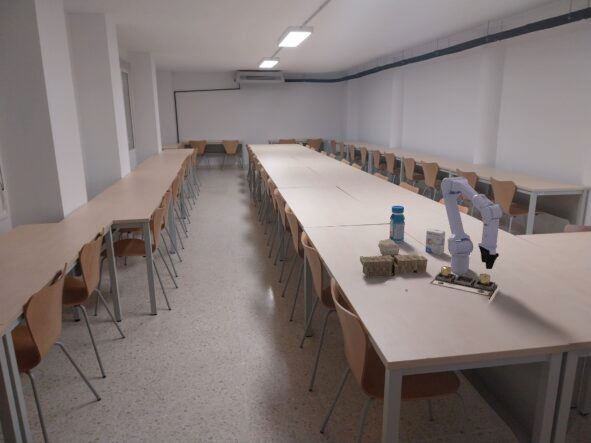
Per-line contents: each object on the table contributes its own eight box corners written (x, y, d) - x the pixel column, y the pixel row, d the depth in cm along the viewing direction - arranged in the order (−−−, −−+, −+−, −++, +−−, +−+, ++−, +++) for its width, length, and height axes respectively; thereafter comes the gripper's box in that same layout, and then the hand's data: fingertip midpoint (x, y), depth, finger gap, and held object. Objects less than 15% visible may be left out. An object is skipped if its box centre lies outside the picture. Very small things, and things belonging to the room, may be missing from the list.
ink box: (424, 251, 224) (425, 230, 222) (429, 249, 228) (430, 228, 225) (440, 255, 219) (441, 232, 216) (444, 252, 222) (445, 230, 219)
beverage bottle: (398, 243, 239) (399, 209, 234) (386, 240, 245) (387, 206, 240) (407, 240, 244) (408, 206, 239) (394, 237, 251) (396, 204, 246)
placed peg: (441, 276, 187) (441, 265, 186) (450, 277, 185) (451, 266, 184) (440, 279, 183) (440, 268, 182) (450, 280, 182) (450, 269, 181)
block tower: (419, 271, 201) (358, 272, 198) (421, 254, 199) (359, 254, 196) (425, 277, 193) (362, 278, 190) (427, 259, 191) (363, 260, 188)
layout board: (439, 275, 191) (440, 270, 190) (497, 287, 177) (497, 281, 177) (429, 286, 180) (429, 280, 179) (489, 299, 166) (490, 293, 166)
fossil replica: (403, 254, 222) (385, 252, 228) (403, 238, 221) (385, 237, 227) (394, 258, 212) (375, 256, 218) (393, 242, 211) (375, 241, 217)
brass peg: (478, 284, 178) (479, 273, 177) (488, 285, 177) (489, 274, 175) (479, 288, 174) (480, 276, 173) (489, 289, 173) (490, 277, 172)
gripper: (475, 229, 181) (472, 259, 184) (483, 238, 167) (480, 271, 170) (493, 229, 179) (490, 259, 183) (502, 239, 166) (499, 272, 169)
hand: (486, 265), depth 176 cm, fingers open, 7 cm apart
